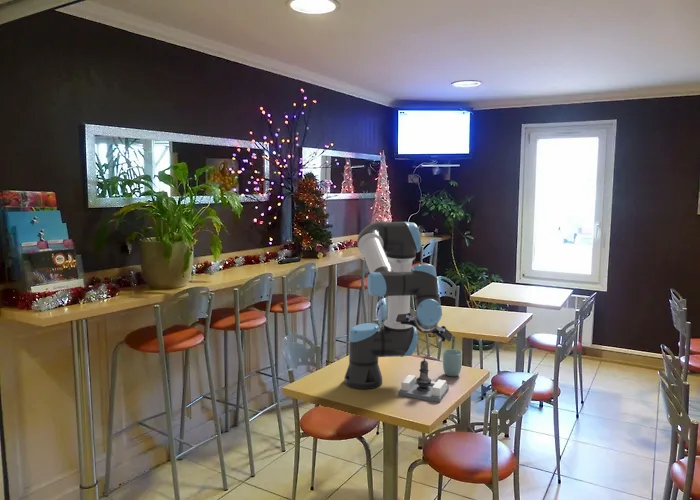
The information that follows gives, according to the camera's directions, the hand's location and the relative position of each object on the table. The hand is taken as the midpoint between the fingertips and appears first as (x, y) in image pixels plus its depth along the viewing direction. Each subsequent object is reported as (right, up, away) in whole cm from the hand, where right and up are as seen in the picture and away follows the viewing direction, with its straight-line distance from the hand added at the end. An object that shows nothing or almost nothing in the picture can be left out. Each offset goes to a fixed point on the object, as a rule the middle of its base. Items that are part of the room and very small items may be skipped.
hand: (422, 331), depth 193 cm
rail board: (+1, -25, +8) cm, 26 cm away
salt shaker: (+1, -23, +7) cm, 24 cm away
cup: (+16, -23, +27) cm, 39 cm away
